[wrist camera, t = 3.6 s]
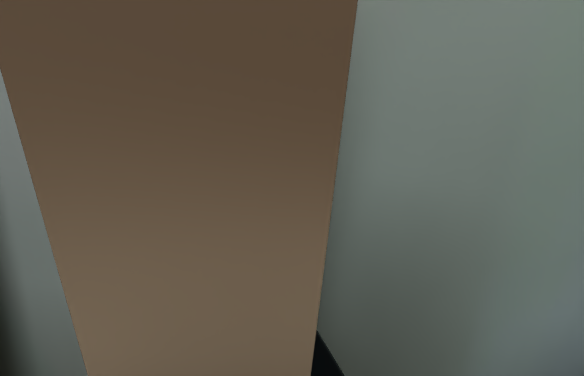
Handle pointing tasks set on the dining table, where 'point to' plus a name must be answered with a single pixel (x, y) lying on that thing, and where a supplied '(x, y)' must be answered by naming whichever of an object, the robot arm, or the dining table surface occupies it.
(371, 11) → the dining table surface
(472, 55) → the dining table surface
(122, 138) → the scraper bar
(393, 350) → the dining table surface
